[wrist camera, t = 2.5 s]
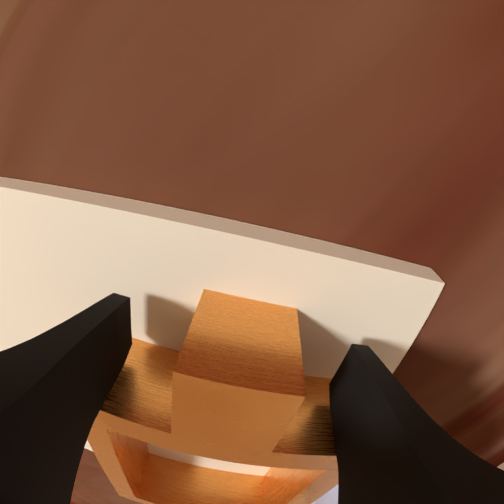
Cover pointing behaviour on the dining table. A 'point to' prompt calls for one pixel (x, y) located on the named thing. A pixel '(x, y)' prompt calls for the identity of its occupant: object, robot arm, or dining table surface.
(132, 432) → the wooden link
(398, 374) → the dining table surface
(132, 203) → the board
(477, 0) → the dining table surface
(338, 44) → the dining table surface
